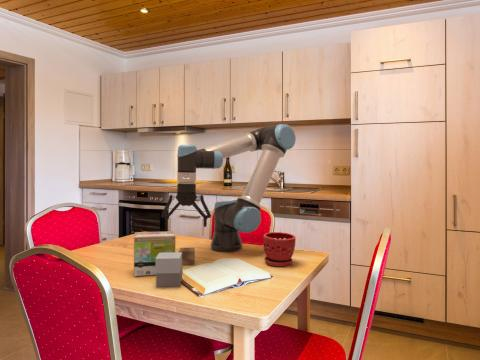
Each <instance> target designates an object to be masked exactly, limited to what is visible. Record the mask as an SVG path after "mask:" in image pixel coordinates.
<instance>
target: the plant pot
mask: <svg viewBox="0 0 480 360" xmlns="http://www.w3.org/2000/svg"><path fill="white" fill-rule="evenodd" d="M295 247H296V236H295V235H294V234H292V233H288V232H281V231H280V232H277V231H275V232H273V231H271V232H266V233H264V234H263V251H264V254H265V256H264V258H263V260H264V262H265V263H266V264H267V265H270V266H273V267H286V266H290V265H291V264H292V263H293V258H292V257H293V255H294V253H295V251H294V250H295Z"/></svg>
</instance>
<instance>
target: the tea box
mask: <svg viewBox="0 0 480 360" xmlns="http://www.w3.org/2000/svg"><path fill="white" fill-rule="evenodd" d="M133 233H134V234H133V235H134V236H133V271H134V272H133V274H134V277H140V276H141V277H142V276H143V277H144V276H156V264H155V259H156V257H157V255H158V254H159V253H169V252H176V235H175V233H174V231H173V230H171V231H168V230H167V231H142V232H140V231H139V232H137V231H136V232H133Z"/></svg>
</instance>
